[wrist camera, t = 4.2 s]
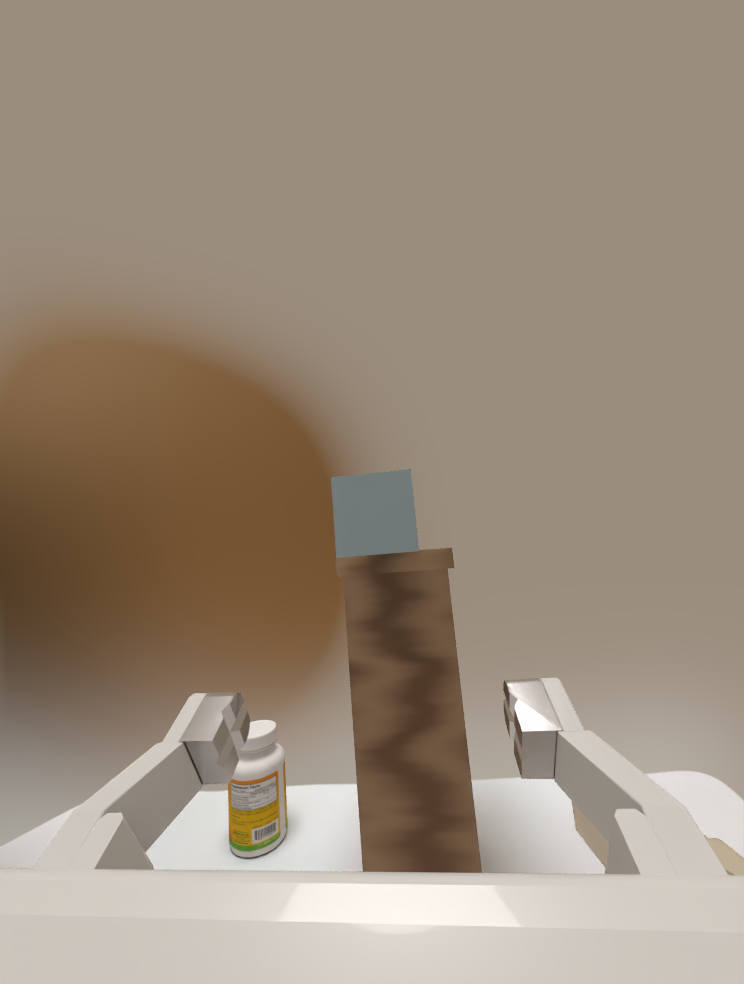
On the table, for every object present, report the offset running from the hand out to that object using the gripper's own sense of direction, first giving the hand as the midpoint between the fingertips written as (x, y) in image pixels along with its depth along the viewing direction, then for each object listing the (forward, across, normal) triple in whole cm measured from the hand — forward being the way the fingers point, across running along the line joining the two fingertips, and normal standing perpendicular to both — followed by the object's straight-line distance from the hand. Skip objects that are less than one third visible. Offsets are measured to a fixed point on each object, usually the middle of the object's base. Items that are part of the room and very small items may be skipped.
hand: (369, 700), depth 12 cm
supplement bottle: (+12, -16, -32) cm, 38 cm away
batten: (+18, 0, -6) cm, 19 cm away
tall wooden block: (+8, 0, -30) cm, 31 cm away
